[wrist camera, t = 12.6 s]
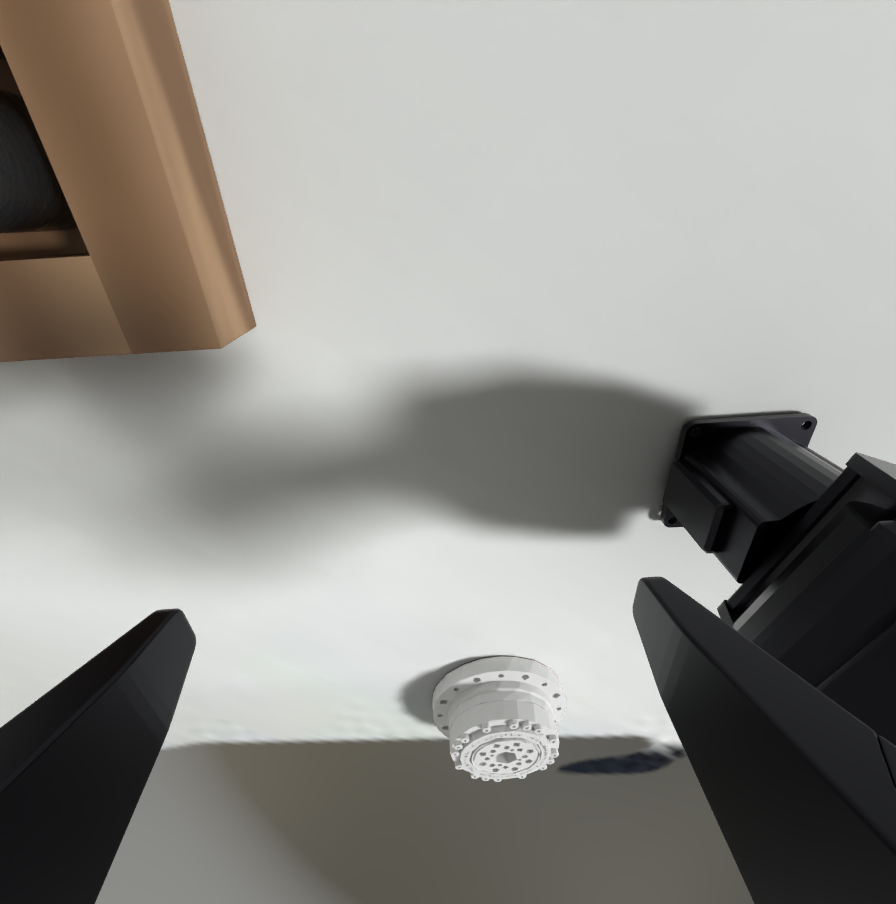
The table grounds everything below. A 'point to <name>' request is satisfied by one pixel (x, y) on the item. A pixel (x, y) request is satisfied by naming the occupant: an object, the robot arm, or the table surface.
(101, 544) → the table surface
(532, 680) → the mechanical component
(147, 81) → the walnut bore block
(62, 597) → the table surface
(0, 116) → the steel pin
